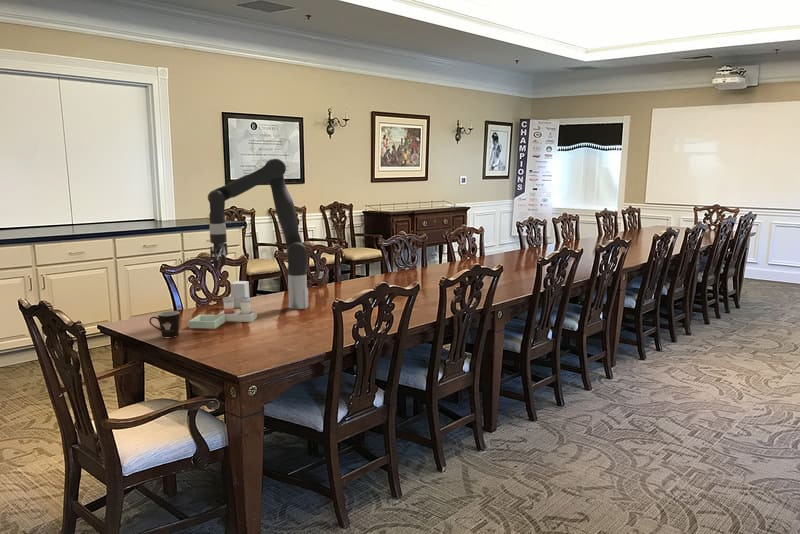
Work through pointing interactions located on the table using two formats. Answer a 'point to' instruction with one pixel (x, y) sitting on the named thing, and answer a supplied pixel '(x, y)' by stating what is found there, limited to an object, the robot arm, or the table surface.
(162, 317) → the coffee mug
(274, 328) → the table surface
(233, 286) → the supplement box
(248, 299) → the fuse
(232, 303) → the marked fuse
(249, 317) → the fuse block
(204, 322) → the tray
